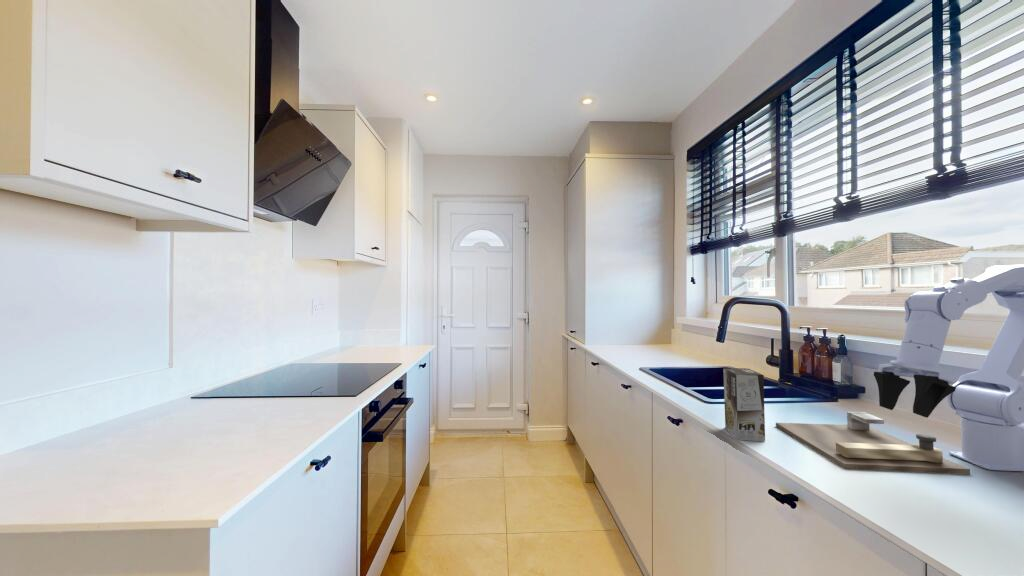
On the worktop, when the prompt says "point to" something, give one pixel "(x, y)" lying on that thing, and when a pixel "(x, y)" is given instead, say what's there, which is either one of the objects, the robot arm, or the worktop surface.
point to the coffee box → (744, 404)
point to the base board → (860, 432)
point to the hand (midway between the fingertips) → (902, 411)
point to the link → (894, 450)
